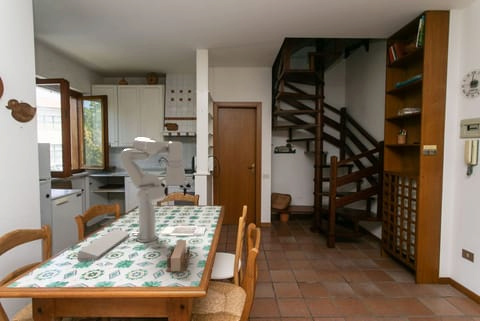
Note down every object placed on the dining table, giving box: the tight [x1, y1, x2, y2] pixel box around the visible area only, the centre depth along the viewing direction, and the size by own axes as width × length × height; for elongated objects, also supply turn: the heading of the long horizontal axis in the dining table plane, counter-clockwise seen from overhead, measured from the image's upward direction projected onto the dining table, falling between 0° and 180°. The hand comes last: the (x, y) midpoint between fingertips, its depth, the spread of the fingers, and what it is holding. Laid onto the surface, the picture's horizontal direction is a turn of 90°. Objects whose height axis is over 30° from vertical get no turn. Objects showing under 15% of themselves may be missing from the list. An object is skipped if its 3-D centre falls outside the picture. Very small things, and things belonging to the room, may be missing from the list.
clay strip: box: [170, 239, 187, 272], centre depth 124 cm, size 4×22×6 cm, turn 5°
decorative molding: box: [77, 228, 131, 260], centre depth 144 cm, size 34×5×10 cm
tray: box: [160, 222, 207, 237], centre depth 171 cm, size 20×28×4 cm
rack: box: [165, 246, 191, 272], centre depth 124 cm, size 9×18×5 cm, turn 6°
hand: (175, 195), depth 138 cm, fingers open, 9 cm apart
